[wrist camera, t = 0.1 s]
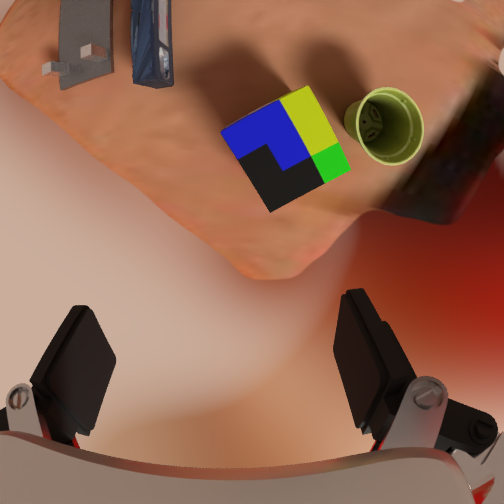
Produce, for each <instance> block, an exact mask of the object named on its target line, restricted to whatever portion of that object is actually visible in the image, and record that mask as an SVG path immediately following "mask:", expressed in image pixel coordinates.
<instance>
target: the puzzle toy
mask: <svg viewBox="0 0 504 504" xmlns="http://www.w3.org/2000/svg"><path fill="white" fill-rule="evenodd" d="M220 133H221V135H222V136H223V138H224V139H225V141H226V142H227V144H228V146H229V147H230V149H231V150H232V152H233V153H234V155H235V157H236V158H237V160H238V161H239V163H240V165H241V166H242V168H243V169H244V171H245V173H246V174H247V176H248V177H249V179H250V181H251V182H252V184H253V186H254V187H255V189H256V190H257V192H258V194H259V195H260V197H261V199H262V200H263V202H264V204H265V205H266V207H267V209H268V210H269V212H270V213H271V212H273V211H274V210H276V209H278V208H280V207H282V206H284V205H285V204H287V203H289V202H291V201H293V200H295V199H297V198H298V197H300V196H302V195H304V194H306V193H308V192H310V191H311V190H313V189H315V188H317V187H319V186H321V185H323V184H325V183H327V182H329V181H330V180H332V179H334V178H336V177H338V176H340V175H342V174H344V173H346V172H348V171H350V170H351V168H350V166H349V164H348V161H347V159H346V157H345V155H344V153H343V151H342V149H341V146H340V144H339V142H338V140H337V138H336V136H335V134H334V132H333V130H332V128H331V126H330V124H329V122H328V120H327V118H326V116H325V115H324V113H323V111H322V109H321V107H320V105H319V103H318V102H317V100H316V98H315V96H314V94H313V93H312V91H311V89H310V87H309V86H305V87H302V88H299V89H297V90H294V91H291V92H289V93H287V94H285V95H283V96H281V97H279V98H277V99H275V100H273V101H271V102H269V103H267V104H265V105H264V106H262V107H260V108H258V109H256V110H254V111H253V112H251V113H249V114H247V115H245V116H244V117H242V118H240V119H238V120H236V121H235V122H233V123H231V124H230V125H228V126H226V127H225V128H224V129H223V130H222V131H221V132H220Z"/></svg>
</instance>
